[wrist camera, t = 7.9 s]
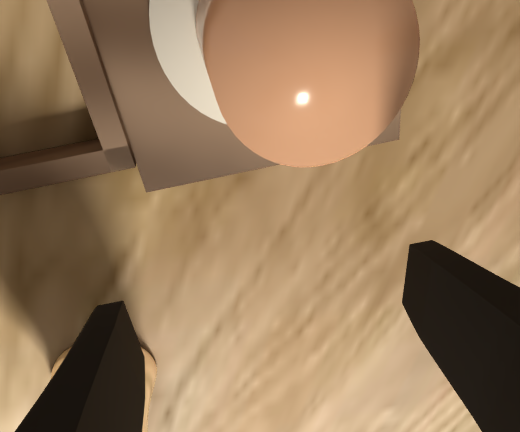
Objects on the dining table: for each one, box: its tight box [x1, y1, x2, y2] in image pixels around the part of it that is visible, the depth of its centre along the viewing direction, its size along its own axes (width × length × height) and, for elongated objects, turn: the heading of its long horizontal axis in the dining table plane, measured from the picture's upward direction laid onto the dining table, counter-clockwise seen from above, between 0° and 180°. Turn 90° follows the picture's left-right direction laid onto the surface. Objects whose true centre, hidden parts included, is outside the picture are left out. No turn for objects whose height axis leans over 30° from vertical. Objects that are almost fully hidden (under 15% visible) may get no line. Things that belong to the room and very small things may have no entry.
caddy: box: [0, 0, 401, 195], centre depth 15 cm, size 12×21×2 cm, turn 98°
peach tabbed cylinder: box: [196, 0, 420, 167], centre depth 12 cm, size 5×7×7 cm
